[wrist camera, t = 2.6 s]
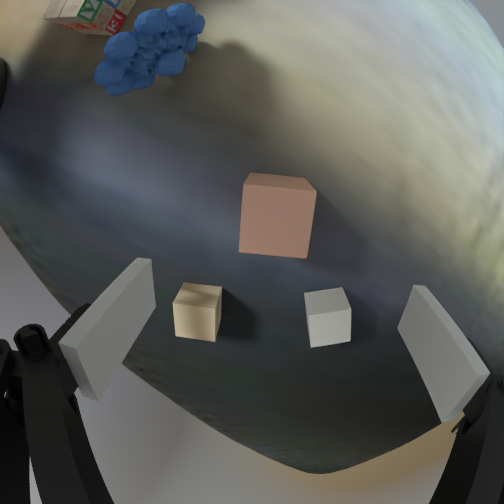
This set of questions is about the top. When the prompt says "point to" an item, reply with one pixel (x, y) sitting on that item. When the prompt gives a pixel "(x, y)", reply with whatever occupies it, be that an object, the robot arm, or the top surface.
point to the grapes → (149, 48)
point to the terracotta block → (276, 215)
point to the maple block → (197, 311)
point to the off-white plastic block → (328, 317)
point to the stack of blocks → (90, 15)
